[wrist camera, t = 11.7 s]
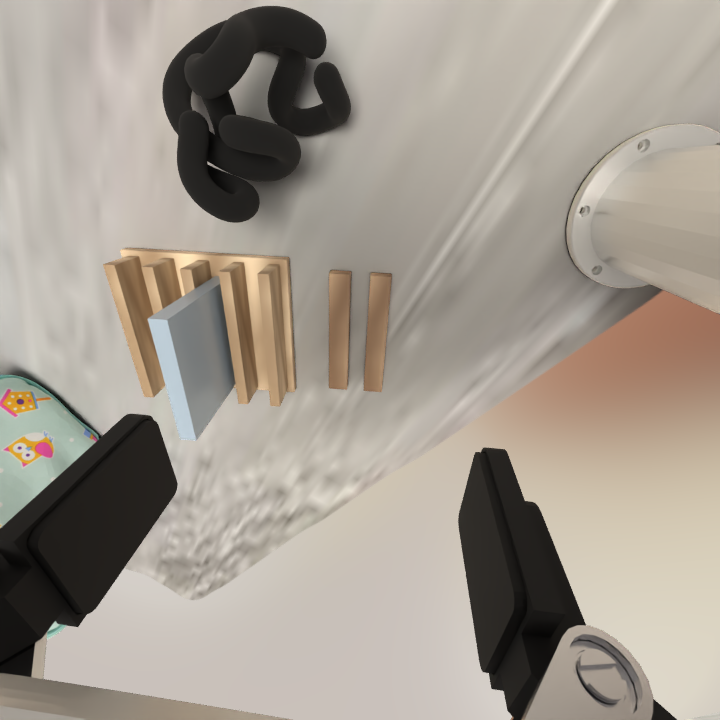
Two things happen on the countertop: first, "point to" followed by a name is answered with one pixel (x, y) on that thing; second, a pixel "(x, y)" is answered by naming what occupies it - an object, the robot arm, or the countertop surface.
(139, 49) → the countertop surface
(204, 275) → the dish rack
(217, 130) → the squiggle
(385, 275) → the wooden slats
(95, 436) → the lunch box
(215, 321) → the plate
